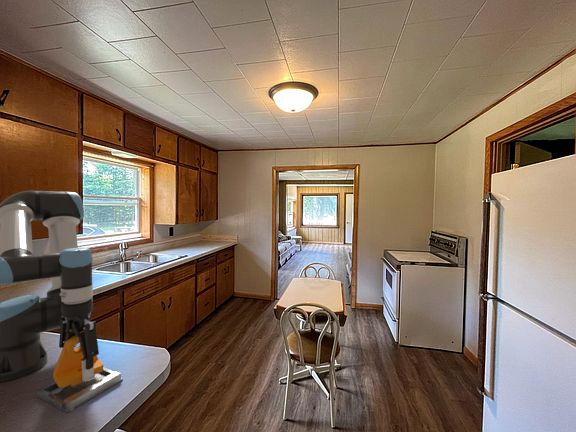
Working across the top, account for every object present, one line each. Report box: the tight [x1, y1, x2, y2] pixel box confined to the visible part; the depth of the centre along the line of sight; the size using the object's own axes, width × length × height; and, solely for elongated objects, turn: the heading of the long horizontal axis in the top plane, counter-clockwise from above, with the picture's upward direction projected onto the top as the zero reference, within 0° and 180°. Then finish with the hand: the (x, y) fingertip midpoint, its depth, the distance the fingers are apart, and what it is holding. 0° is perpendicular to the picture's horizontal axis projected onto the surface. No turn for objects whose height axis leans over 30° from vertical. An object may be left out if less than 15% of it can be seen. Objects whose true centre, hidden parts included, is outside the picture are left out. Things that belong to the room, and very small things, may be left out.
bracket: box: [52, 335, 104, 388], centre depth 82 cm, size 11×7×12 cm, turn 142°
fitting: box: [36, 366, 124, 414], centre depth 81 cm, size 15×15×2 cm
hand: (79, 374), depth 82 cm, fingers closed on bracket, 8 cm apart
